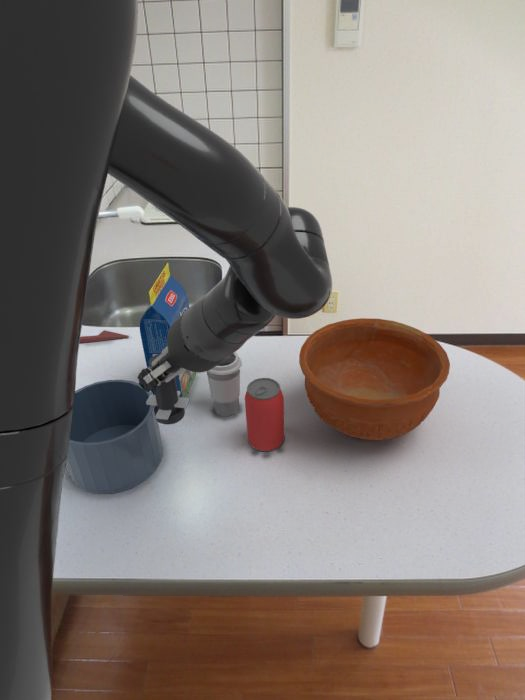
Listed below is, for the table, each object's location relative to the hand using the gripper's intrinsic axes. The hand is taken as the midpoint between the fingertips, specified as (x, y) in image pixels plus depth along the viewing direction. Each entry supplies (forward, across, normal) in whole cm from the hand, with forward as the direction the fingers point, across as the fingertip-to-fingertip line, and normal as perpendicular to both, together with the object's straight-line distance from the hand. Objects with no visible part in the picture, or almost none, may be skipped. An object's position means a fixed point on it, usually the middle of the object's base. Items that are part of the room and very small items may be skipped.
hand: (154, 378), depth 76 cm
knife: (+51, -18, -21) cm, 58 cm away
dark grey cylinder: (+3, 0, +6) cm, 6 cm away
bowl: (0, -30, +29) cm, 42 cm away
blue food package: (+27, -18, +3) cm, 33 cm away
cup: (+17, -19, +12) cm, 28 cm away
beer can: (+9, -16, +20) cm, 27 cm away
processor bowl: (+23, +2, +6) cm, 24 cm away
